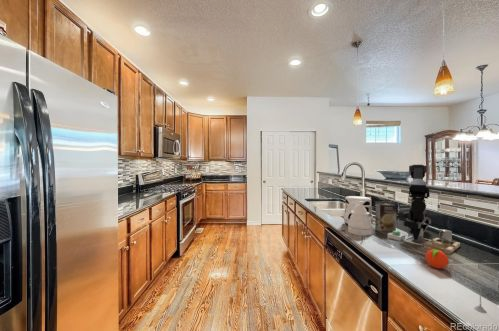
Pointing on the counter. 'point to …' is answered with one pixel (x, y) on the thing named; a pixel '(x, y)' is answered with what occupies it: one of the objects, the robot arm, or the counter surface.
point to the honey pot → (360, 221)
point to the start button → (396, 233)
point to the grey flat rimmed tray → (413, 242)
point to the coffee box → (385, 217)
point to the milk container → (353, 202)
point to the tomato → (437, 258)
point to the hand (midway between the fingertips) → (417, 238)
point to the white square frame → (400, 237)
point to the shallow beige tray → (441, 246)
